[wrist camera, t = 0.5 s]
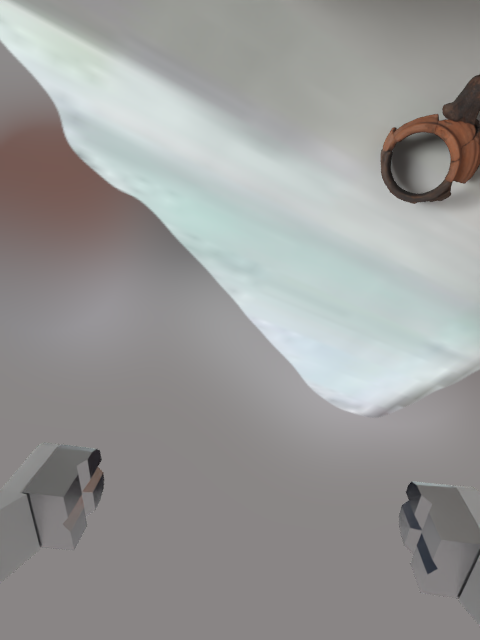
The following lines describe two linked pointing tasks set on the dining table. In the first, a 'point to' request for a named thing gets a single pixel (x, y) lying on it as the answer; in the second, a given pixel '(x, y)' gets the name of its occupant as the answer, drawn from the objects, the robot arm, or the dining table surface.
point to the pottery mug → (457, 132)
